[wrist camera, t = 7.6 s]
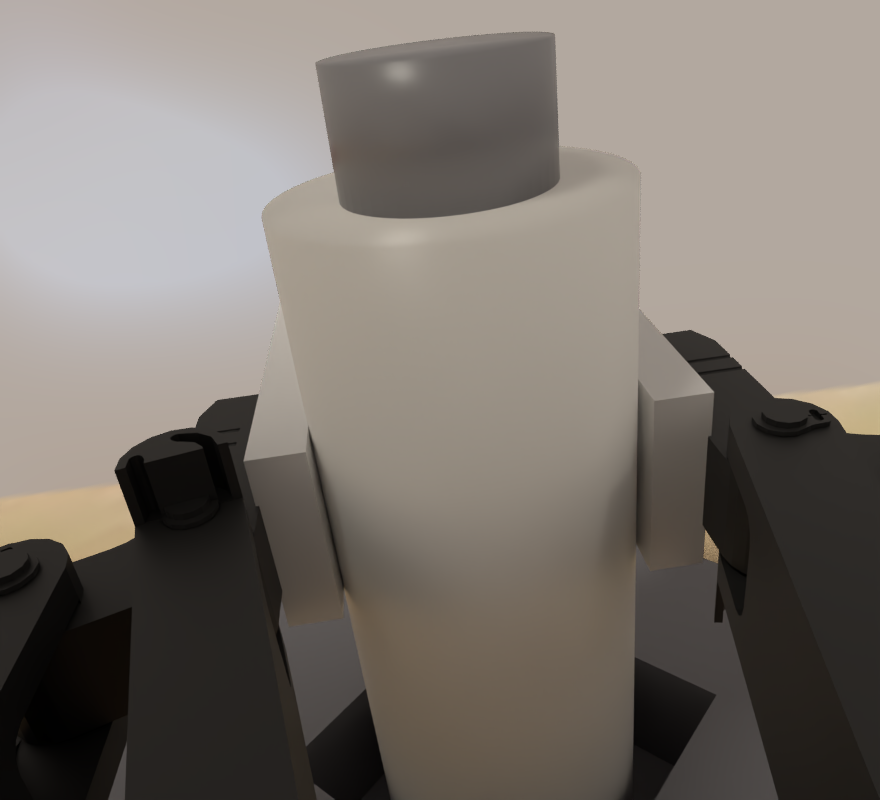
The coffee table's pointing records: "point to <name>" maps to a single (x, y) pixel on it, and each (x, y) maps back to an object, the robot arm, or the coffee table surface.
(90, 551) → the coffee table surface
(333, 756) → the socket block
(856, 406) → the coffee table surface
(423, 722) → the plug
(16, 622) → the robot arm
